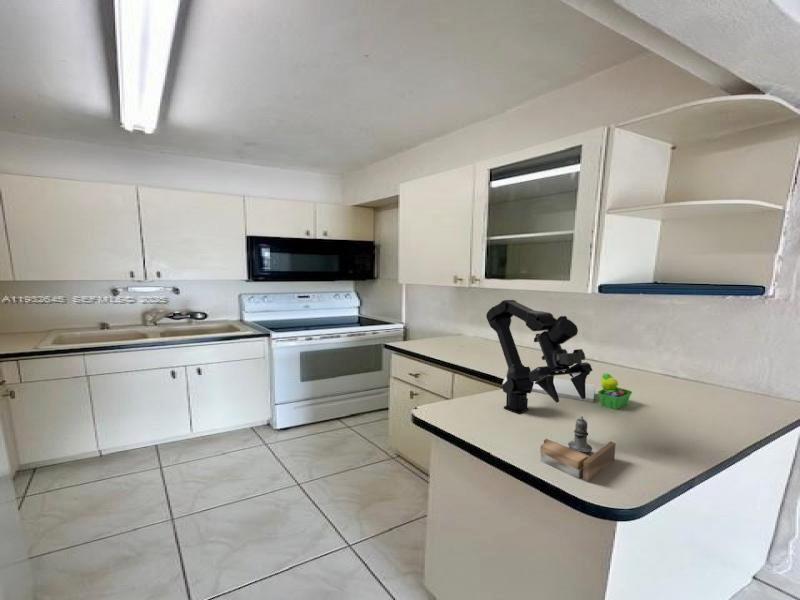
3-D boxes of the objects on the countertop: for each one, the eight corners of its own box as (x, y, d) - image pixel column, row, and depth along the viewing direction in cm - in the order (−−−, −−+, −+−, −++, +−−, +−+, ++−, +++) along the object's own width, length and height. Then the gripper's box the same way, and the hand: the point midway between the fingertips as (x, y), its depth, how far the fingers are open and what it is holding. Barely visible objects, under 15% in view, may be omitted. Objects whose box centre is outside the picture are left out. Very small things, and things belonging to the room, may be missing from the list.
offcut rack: (534, 463, 99) (535, 441, 98) (563, 444, 109) (564, 425, 108) (587, 487, 89) (588, 463, 88) (613, 464, 98) (615, 443, 98)
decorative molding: (592, 409, 142) (594, 394, 150) (593, 398, 140) (595, 384, 148) (502, 393, 159) (508, 380, 167) (502, 383, 157) (508, 371, 165)
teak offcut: (540, 452, 98) (540, 445, 98) (548, 447, 100) (549, 440, 100) (577, 469, 90) (578, 461, 90) (586, 464, 92) (586, 456, 92)
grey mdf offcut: (540, 460, 98) (541, 453, 97) (549, 455, 100) (549, 448, 100) (578, 478, 90) (579, 470, 90) (586, 472, 92) (587, 465, 92)
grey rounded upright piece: (570, 463, 99) (573, 419, 98) (565, 452, 105) (567, 410, 103) (594, 465, 98) (597, 421, 97) (587, 454, 104) (590, 412, 102)
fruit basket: (617, 411, 133) (619, 381, 131) (592, 404, 140) (594, 374, 139) (632, 404, 139) (634, 375, 138) (607, 397, 146) (609, 369, 145)
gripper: (540, 341, 106) (561, 396, 99) (594, 337, 111) (616, 389, 104) (520, 355, 115) (537, 406, 108) (570, 351, 121) (590, 399, 114)
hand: (571, 400), depth 108 cm, fingers open, 9 cm apart
